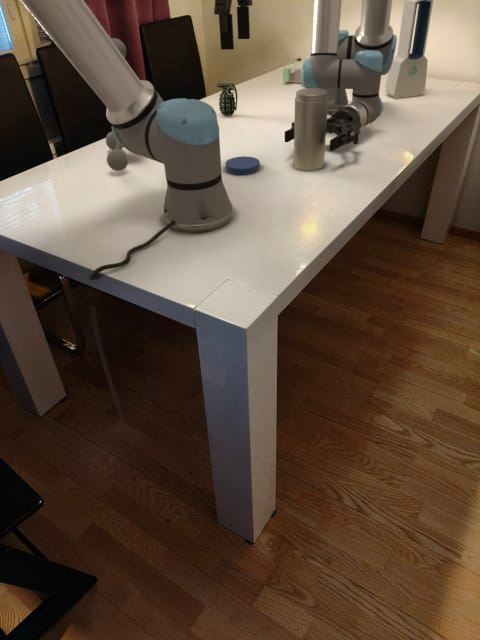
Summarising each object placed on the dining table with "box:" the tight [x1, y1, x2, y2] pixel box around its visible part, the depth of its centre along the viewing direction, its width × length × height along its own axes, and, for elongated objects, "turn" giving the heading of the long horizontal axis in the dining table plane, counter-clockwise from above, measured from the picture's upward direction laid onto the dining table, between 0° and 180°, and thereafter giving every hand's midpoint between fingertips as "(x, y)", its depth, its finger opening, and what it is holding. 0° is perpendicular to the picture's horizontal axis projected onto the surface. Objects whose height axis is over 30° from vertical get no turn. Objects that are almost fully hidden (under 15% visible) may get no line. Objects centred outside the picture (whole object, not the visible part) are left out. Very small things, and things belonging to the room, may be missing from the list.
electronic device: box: [384, 0, 434, 99], centre depth 170 cm, size 12×8×30 cm, turn 105°
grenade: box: [215, 82, 238, 117], centre depth 166 cm, size 7×6×10 cm
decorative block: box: [282, 58, 306, 84], centre depth 205 cm, size 26×6×20 cm
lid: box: [224, 155, 261, 176], centre depth 129 cm, size 9×9×2 cm
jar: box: [293, 88, 328, 171], centre depth 124 cm, size 8×8×18 cm
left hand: (236, 44), depth 111 cm, fingers open, 13 cm apart
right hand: (307, 141), depth 125 cm, fingers open, 13 cm apart
